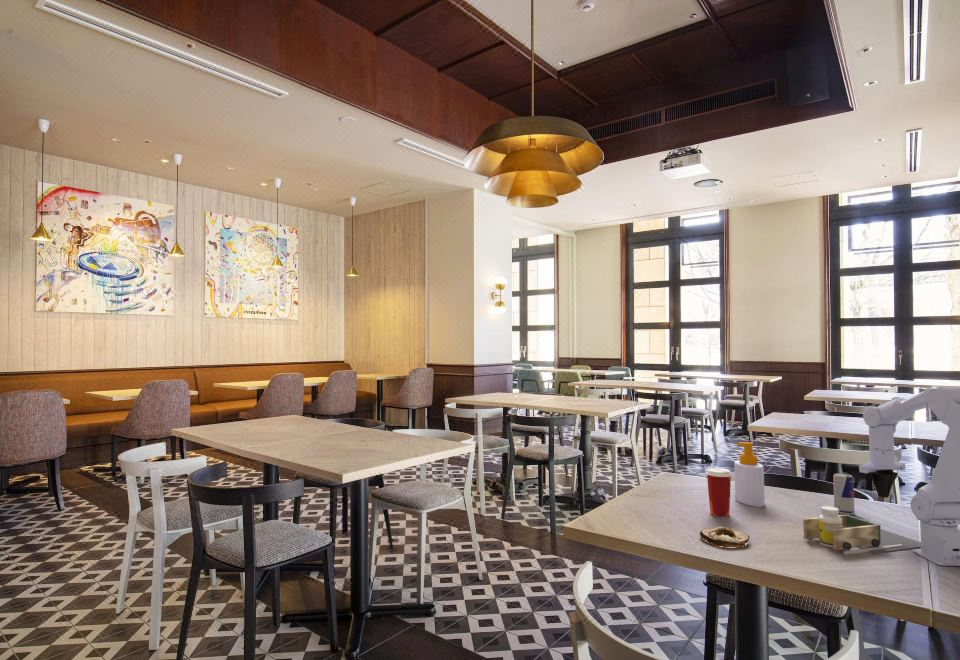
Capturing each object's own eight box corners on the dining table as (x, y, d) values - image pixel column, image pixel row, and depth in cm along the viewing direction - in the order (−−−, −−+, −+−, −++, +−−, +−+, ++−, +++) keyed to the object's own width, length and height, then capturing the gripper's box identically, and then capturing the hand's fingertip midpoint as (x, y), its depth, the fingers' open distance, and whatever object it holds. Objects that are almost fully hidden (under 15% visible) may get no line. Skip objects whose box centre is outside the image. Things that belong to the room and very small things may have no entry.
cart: (842, 530, 154) (842, 513, 154) (885, 545, 142) (884, 526, 142) (800, 535, 150) (799, 517, 151) (840, 551, 138) (839, 531, 139)
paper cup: (738, 515, 171) (737, 471, 172) (719, 518, 168) (718, 473, 169) (719, 509, 179) (718, 466, 179) (701, 512, 176) (700, 468, 176)
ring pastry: (684, 535, 155) (684, 520, 155) (729, 531, 158) (729, 516, 158) (718, 554, 140) (718, 538, 141) (767, 549, 144) (767, 533, 144)
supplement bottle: (821, 540, 149) (819, 504, 150) (844, 544, 146) (843, 507, 146) (818, 545, 145) (816, 508, 145) (842, 550, 142) (841, 512, 142)
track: (873, 527, 159) (873, 525, 159) (930, 546, 144) (930, 544, 144) (799, 536, 152) (799, 533, 152) (851, 556, 137) (851, 554, 137)
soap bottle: (729, 496, 194) (728, 439, 195) (752, 496, 193) (751, 439, 194) (746, 507, 181) (744, 446, 181) (771, 507, 180) (769, 446, 181)
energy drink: (857, 515, 170) (856, 477, 171) (838, 514, 172) (837, 476, 172) (849, 510, 176) (848, 473, 176) (831, 510, 177) (830, 473, 177)
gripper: (887, 445, 160) (889, 491, 160) (848, 447, 157) (850, 495, 156) (912, 449, 154) (913, 497, 153) (871, 452, 150) (873, 501, 149)
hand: (883, 496), depth 154 cm, fingers closed
